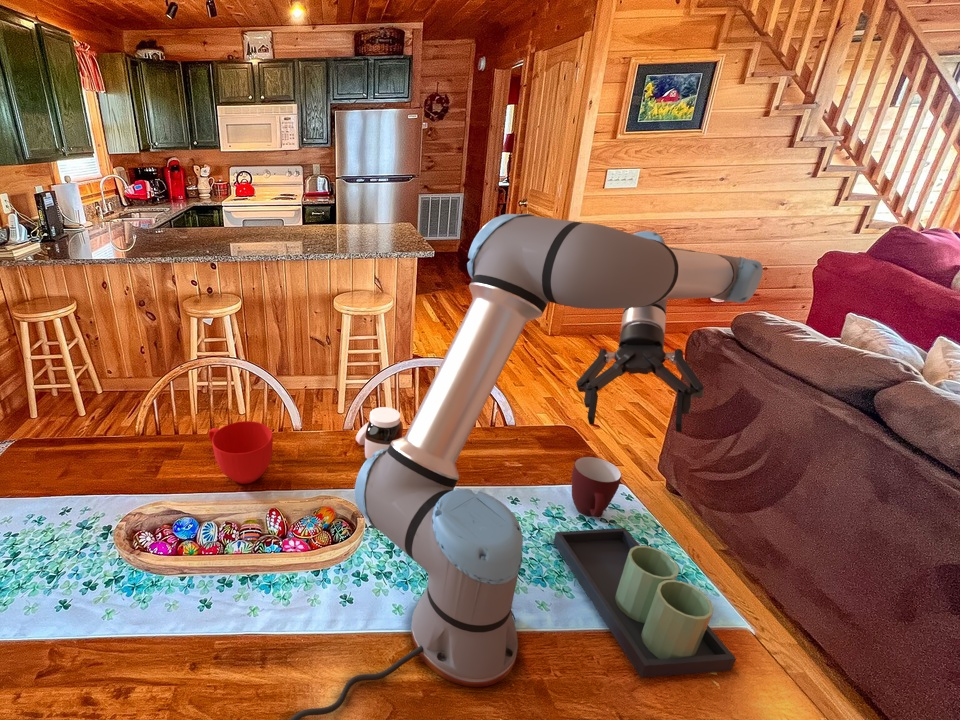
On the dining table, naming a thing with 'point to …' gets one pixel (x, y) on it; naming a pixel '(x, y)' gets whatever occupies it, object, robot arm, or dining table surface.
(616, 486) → the mug
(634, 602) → the cup
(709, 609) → the cup
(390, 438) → the spread jar
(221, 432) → the ceramic cup
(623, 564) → the tray
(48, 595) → the dining table surface
